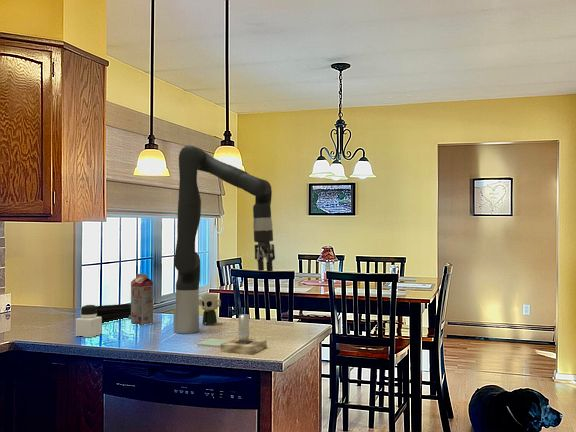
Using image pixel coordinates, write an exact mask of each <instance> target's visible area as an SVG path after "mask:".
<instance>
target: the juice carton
mask: <svg viewBox="0 0 576 432" xmlns="http://www.w3.org/2000/svg"><path fill="white" fill-rule="evenodd" d="M135 276H136V277H135V278H134V279H132V280H131V281H130V304H131V316H130V324H131V323H132V324H139V325H144V324H150V323H153V324H154V281H153V280H152V279H150V278H149V277H148V274H146V273H136V275H135ZM150 325H151V324H150Z"/></svg>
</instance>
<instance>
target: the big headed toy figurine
mask: <svg viewBox="0 0 576 432" xmlns="http://www.w3.org/2000/svg"><path fill="white" fill-rule="evenodd" d="M218 296H219V295H218V293H217V294H216V293H203V294H201V297H199V307H201V309H202V310H203V314H202V325H205V324H206V325H214V324H216V323H218V321H217V320H218V319H217V312H216V310H217V309H218V308H220V307H221V303H222V301H221V299H219V297H218Z"/></svg>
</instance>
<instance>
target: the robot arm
mask: <svg viewBox="0 0 576 432" xmlns="http://www.w3.org/2000/svg"><path fill="white" fill-rule="evenodd" d="M178 170H179V171H178V173H179V175H178V176H179V187H178V201H177V222H176V223H177V227H176V228H177V230H176V231H177V233H176V234H177V239H176V244H175V245H176V246H175V251H174V259H173V265H174V267H175V269H176V270H177V278H176V282H175V307H174V308H173V332H174V333H177V334H195V333H198V332H200V305H199V298H200V282H201V258H200V255H199V254H198V252H197V251H196V239H197V238H196V237H197V233H198V229H199V226H200V222H201V215H202V214H201V213H202V199H201V195H200V194H201V193H200V191H199V187H198V177H197V176H198V171H201V172H205V173H208V174H210V175H213V176H215V177H217V178H218V179H220V180H221V181H223V182H225V183H227V184H229V185H231V186H233V187H236V188H237V189H241V190H243V191H244V192H247V193H248V194H250V195H252V196H255V203H254V205H253V207H252V212H253V213H252V217H253V223H252V227H253V228H252V229H253V242H254V243H257V244H254V260H256V261H257V270H258V271H264V270H265V264H264V259H265V260H266V271H267V272H273V270H274V269H273V266H274V265H273V261H274V260H276V256H275V255H276V253H275V252H276V251H275V245H274V244H273V243H271V242H273V241H274V233H273V231H274V230H273V221H272V211H271V210H272V209H271V204H272V197H273V196H272V195H273V194H272V192H273V191H272V185H271V184H270V182H269V181H268V180H267V179H262V178H259V177H257V176H254V175H252V174H250V173H248V172H247V171H245V170H243V169H240V168H238V167H235V166H233V165H230V164H227V163H225V162H222V161H220V160H218V159H216V157H213V156H211V155H210V154H208V153H207V152H206V151H204V150H203V149H202V148H199V147H197V146H193V145H191V144H190V145H184V147H182V148H181V149H180V151H179V154H178Z"/></svg>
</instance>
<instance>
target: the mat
mask: <svg viewBox="0 0 576 432" xmlns="http://www.w3.org/2000/svg"><path fill="white" fill-rule="evenodd" d="M230 340H231V339H222V338H221V339H220V338H208V339H206V340H203V341H200V342H197V343H196V345H197V346H201V347H212V348H221V344H223V343H225V342H228V341H230Z"/></svg>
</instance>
